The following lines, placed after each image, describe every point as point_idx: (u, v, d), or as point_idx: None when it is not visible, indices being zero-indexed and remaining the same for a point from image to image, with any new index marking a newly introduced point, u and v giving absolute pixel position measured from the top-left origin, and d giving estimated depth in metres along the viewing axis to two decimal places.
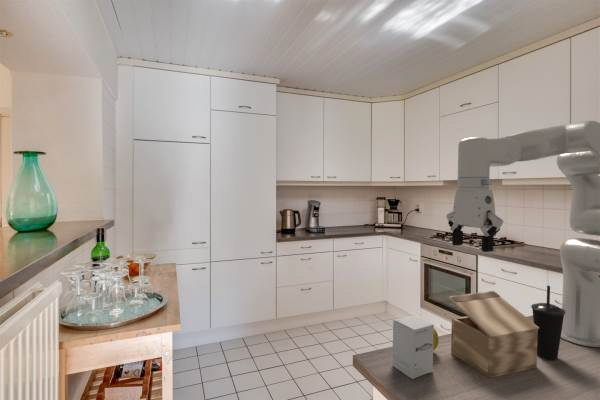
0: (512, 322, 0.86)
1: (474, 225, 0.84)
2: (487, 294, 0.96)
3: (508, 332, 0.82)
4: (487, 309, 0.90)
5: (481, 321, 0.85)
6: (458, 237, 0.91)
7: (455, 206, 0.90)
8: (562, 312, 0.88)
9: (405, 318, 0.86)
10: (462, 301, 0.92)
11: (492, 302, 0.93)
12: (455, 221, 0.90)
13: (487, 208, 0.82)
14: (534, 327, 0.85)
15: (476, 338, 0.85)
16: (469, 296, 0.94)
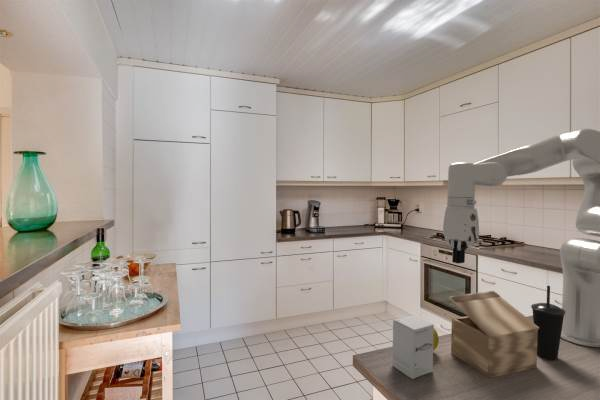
0: (512, 322, 0.86)
1: (461, 239, 0.96)
2: (487, 294, 0.96)
3: (508, 332, 0.82)
4: (487, 309, 0.90)
5: (481, 321, 0.85)
6: None
7: (445, 221, 1.02)
8: (562, 312, 0.88)
9: (405, 318, 0.86)
10: (462, 301, 0.92)
11: (492, 302, 0.93)
12: (445, 234, 1.03)
13: (472, 224, 0.95)
14: (534, 327, 0.85)
15: (476, 338, 0.85)
16: (469, 296, 0.94)
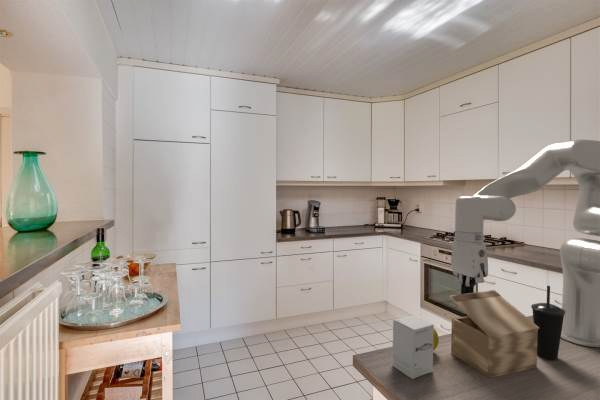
0: (512, 322, 0.86)
1: (469, 275, 0.94)
2: (488, 293, 0.96)
3: (508, 332, 0.82)
4: (487, 309, 0.90)
5: (481, 321, 0.85)
6: None
7: (453, 255, 1.00)
8: (562, 312, 0.88)
9: (405, 318, 0.86)
10: (462, 300, 0.91)
11: (492, 301, 0.93)
12: (453, 268, 1.00)
13: (480, 261, 0.92)
14: (534, 327, 0.85)
15: (476, 338, 0.85)
16: (469, 295, 0.94)
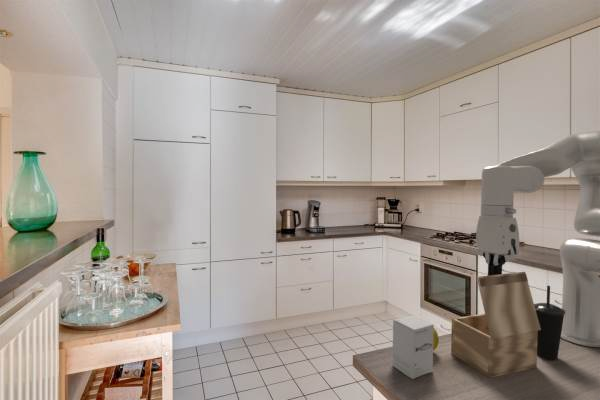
0: (520, 320, 0.84)
1: (498, 253, 0.85)
2: (516, 277, 0.87)
3: (510, 334, 0.82)
4: (506, 300, 0.84)
5: (493, 317, 0.82)
6: None
7: (478, 232, 0.91)
8: (562, 312, 0.88)
9: (405, 318, 0.86)
10: (487, 286, 0.84)
11: (515, 290, 0.86)
12: (478, 247, 0.91)
13: (511, 236, 0.83)
14: (536, 329, 0.85)
15: (476, 338, 0.85)
16: (497, 279, 0.85)
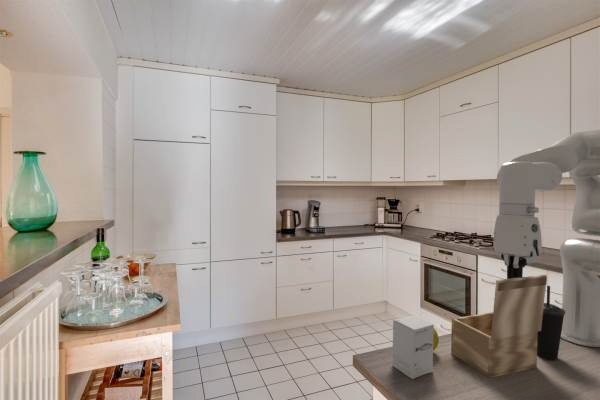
0: (525, 323, 0.83)
1: (519, 255, 0.80)
2: (536, 281, 0.82)
3: (511, 335, 0.82)
4: (518, 304, 0.81)
5: (499, 320, 0.80)
6: None
7: (496, 232, 0.85)
8: (562, 312, 0.88)
9: (405, 318, 0.86)
10: (504, 290, 0.79)
11: (531, 293, 0.82)
12: (496, 248, 0.86)
13: (533, 237, 0.78)
14: (537, 330, 0.84)
15: (476, 338, 0.85)
16: (516, 283, 0.80)
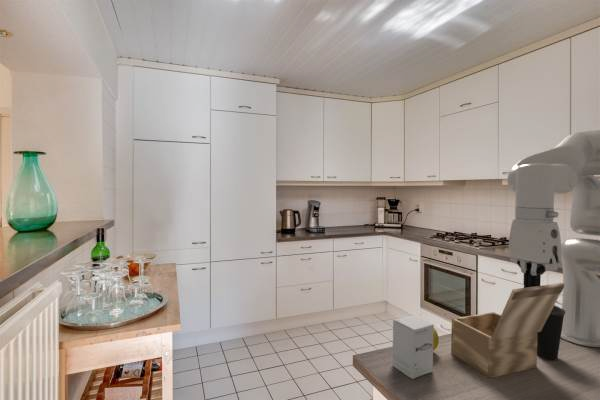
0: (528, 325, 0.82)
1: (537, 262, 0.75)
2: (553, 289, 0.79)
3: (511, 336, 0.82)
4: (527, 310, 0.79)
5: (504, 324, 0.78)
6: None
7: (512, 238, 0.81)
8: (562, 312, 0.88)
9: (405, 318, 0.86)
10: (518, 299, 0.76)
11: (543, 301, 0.79)
12: (512, 254, 0.81)
13: (553, 243, 0.74)
14: (537, 331, 0.84)
15: (476, 338, 0.85)
16: (532, 292, 0.77)
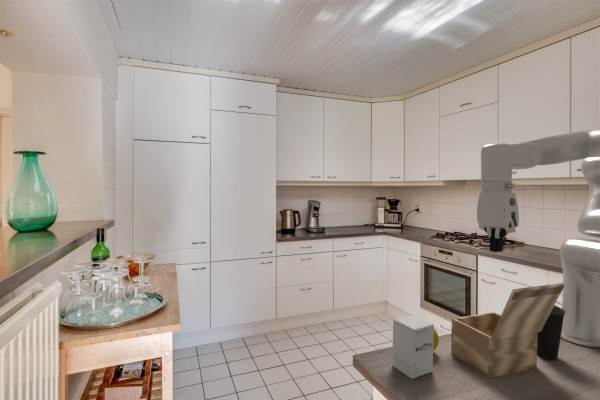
0: (528, 325, 0.82)
1: (499, 226, 0.90)
2: (553, 289, 0.79)
3: (511, 336, 0.82)
4: (527, 310, 0.79)
5: (504, 324, 0.78)
6: None
7: (479, 208, 0.95)
8: (562, 312, 0.88)
9: (405, 318, 0.86)
10: (518, 299, 0.76)
11: (543, 301, 0.79)
12: (479, 222, 0.96)
13: (511, 209, 0.88)
14: (537, 331, 0.84)
15: (476, 338, 0.85)
16: (532, 292, 0.77)
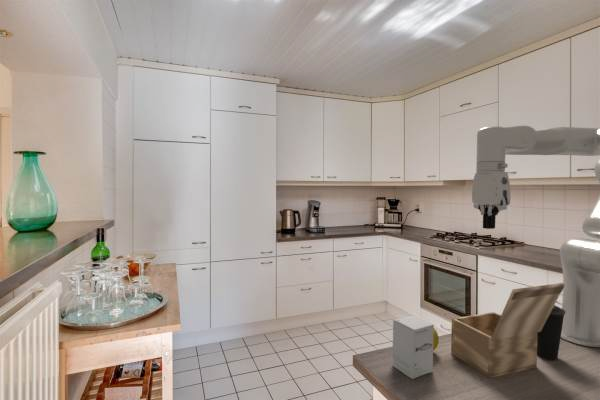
0: (528, 325, 0.82)
1: (492, 203, 0.96)
2: (553, 289, 0.79)
3: (511, 336, 0.82)
4: (527, 310, 0.79)
5: (504, 324, 0.78)
6: None
7: (474, 188, 1.02)
8: (562, 312, 0.88)
9: (405, 318, 0.86)
10: (518, 299, 0.76)
11: (543, 301, 0.79)
12: (474, 201, 1.02)
13: (503, 188, 0.94)
14: (537, 331, 0.84)
15: (476, 338, 0.85)
16: (532, 292, 0.77)
